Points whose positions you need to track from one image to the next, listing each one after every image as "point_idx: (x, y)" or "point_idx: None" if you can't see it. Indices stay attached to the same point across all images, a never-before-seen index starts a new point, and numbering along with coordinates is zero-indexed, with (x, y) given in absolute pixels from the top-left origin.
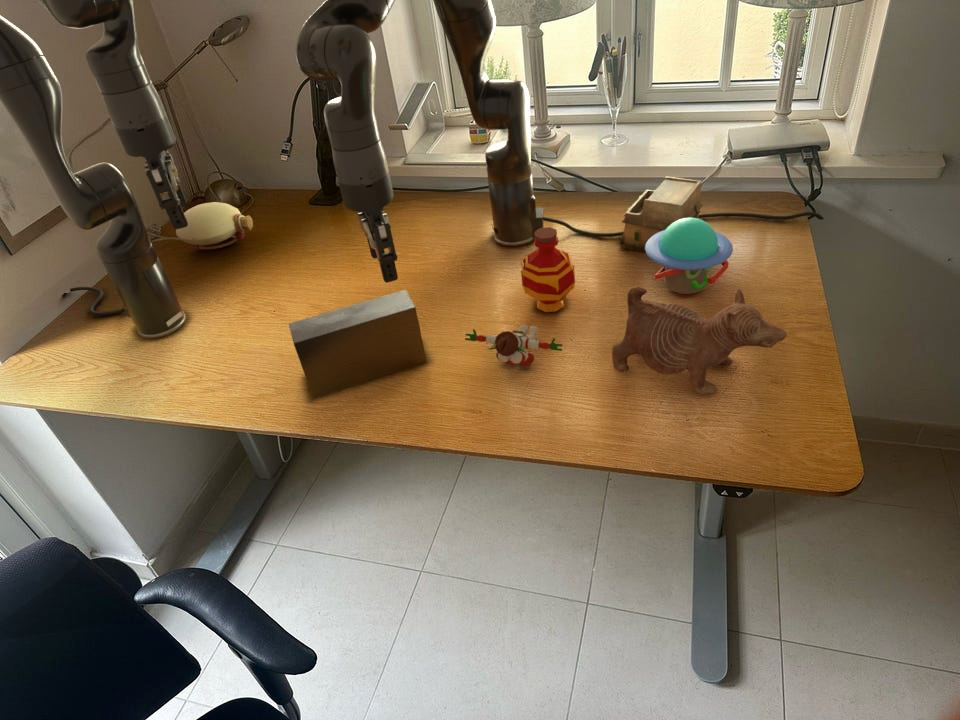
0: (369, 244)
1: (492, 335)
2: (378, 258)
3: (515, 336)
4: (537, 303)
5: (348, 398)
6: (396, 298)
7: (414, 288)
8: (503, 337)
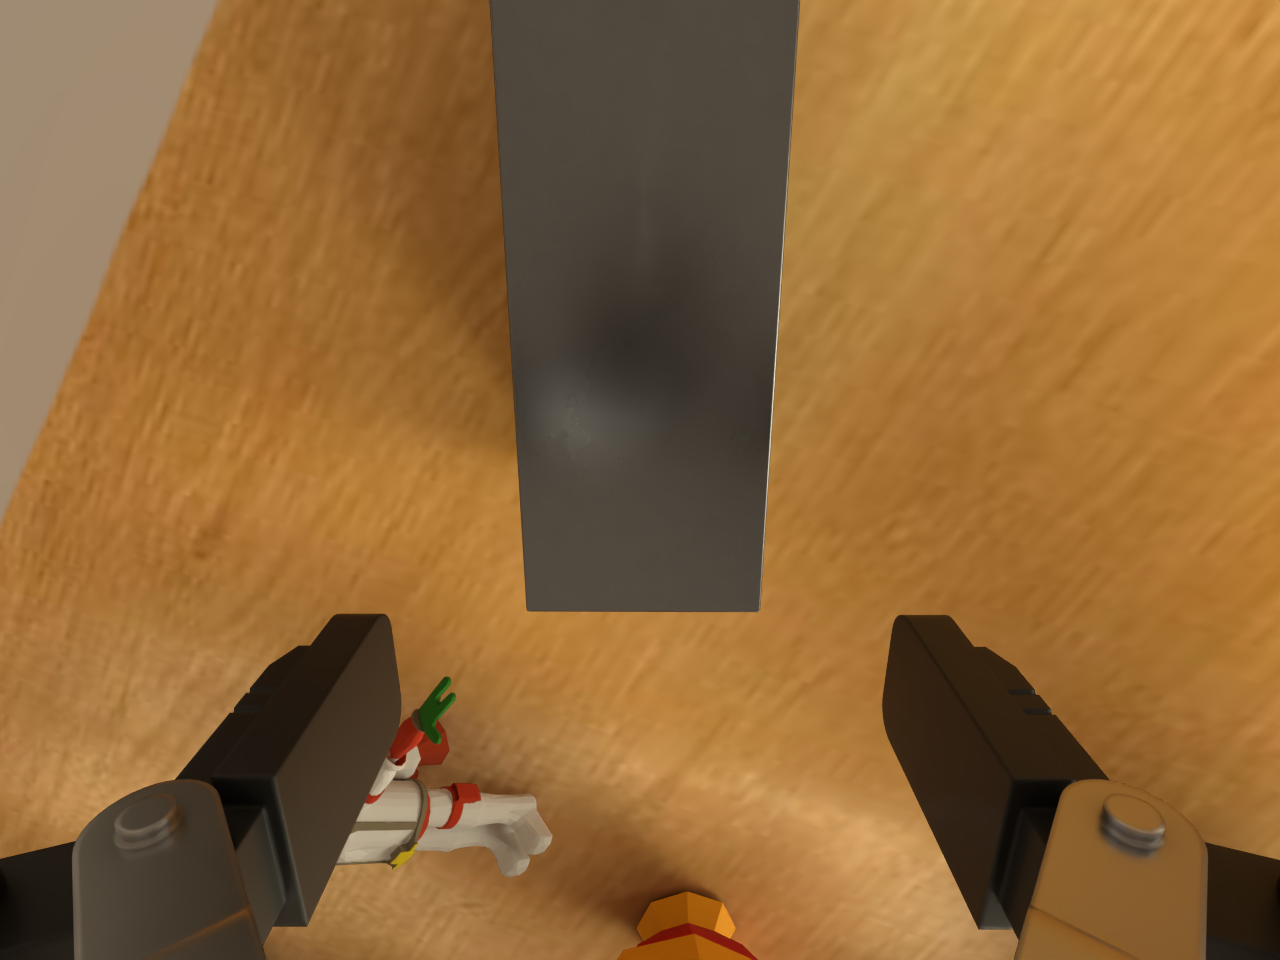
0: (970, 723)
1: (384, 782)
2: (121, 837)
3: None
4: (709, 902)
5: (470, 66)
6: (686, 538)
7: (1137, 568)
8: None
